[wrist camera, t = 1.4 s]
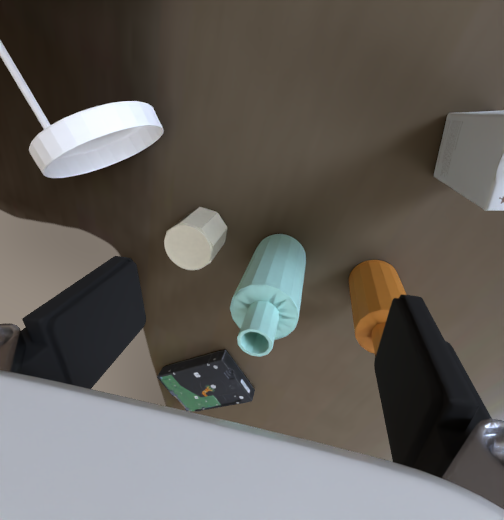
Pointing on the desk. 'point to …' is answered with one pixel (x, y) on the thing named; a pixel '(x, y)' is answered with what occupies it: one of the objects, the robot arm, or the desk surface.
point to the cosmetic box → (474, 157)
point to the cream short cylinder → (195, 239)
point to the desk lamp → (88, 133)
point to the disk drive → (207, 382)
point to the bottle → (269, 294)
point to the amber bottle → (372, 300)
